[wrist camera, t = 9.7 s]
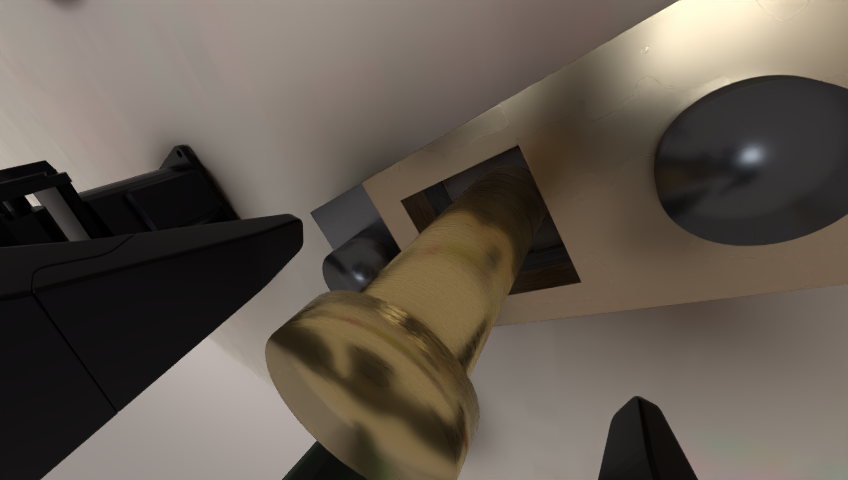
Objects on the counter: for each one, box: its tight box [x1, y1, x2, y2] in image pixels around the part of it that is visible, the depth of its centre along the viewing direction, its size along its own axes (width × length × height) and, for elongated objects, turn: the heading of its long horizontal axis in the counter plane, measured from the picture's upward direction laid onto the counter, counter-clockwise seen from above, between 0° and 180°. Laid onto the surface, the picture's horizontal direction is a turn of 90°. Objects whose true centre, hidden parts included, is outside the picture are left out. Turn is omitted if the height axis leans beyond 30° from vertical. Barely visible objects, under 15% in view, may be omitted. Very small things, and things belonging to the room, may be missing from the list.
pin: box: [265, 165, 547, 480], centre depth 10 cm, size 4×4×10 cm
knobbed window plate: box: [311, 0, 848, 326], centre depth 12 cm, size 18×7×4 cm, turn 121°
